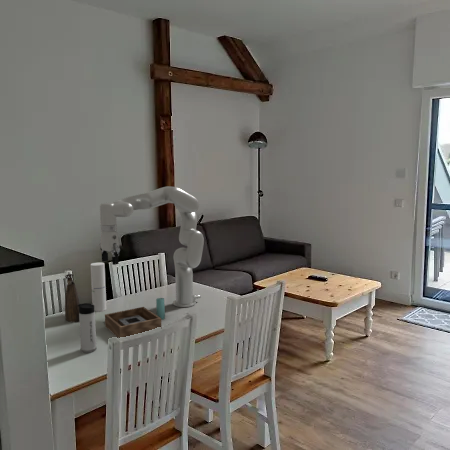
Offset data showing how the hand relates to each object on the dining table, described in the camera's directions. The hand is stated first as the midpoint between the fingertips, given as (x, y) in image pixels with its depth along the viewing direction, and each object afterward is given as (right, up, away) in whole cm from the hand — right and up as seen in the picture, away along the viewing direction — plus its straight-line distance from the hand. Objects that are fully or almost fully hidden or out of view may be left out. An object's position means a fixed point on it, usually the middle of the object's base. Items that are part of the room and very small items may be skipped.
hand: (110, 262), depth 215 cm
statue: (-20, -29, +5) cm, 36 cm away
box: (+13, -31, -7) cm, 34 cm away
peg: (+24, -29, +7) cm, 38 cm away
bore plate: (+13, -31, -7) cm, 34 cm away
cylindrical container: (-11, -27, +20) cm, 36 cm away
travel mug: (-1, -34, -31) cm, 46 cm away
